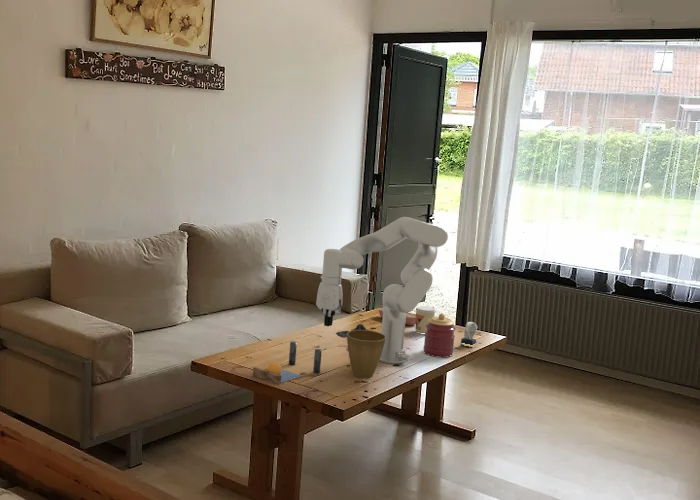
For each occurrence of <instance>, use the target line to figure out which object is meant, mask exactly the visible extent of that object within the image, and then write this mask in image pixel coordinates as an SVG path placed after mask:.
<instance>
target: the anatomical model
mask: <svg viewBox="0 0 700 500" xmlns="http://www.w3.org/2000/svg"><path fill="white" fill-rule="evenodd" d="M378 314H379V315H380V318H382V319H383V307H379V308H378ZM405 324H407V325H406V326H414V325H416V313H411V312H408V313H406V323H405Z"/></svg>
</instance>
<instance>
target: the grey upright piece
mask: <svg viewBox="0 0 700 500" xmlns="http://www.w3.org/2000/svg"><path fill="white" fill-rule="evenodd" d="M477 330H478V325H477V324H476V322H474V321H467V322H466V324H465V326H464V334H463V335H464V337H461V341H460V344H461V343H465V344H470V345H473V344H475V343H476V344H477V338H474V336H475V334H476V332H477Z"/></svg>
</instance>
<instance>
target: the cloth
mask: <svg viewBox="0 0 700 500" xmlns="http://www.w3.org/2000/svg"><path fill="white" fill-rule="evenodd" d="M353 330H367V328H366V327H365V326H364V324H363V323H359V324H357V325H356V327H355V328H353V329H351V330H350V331H353ZM348 332H349V330H342V331H336V333H335V334H336V335H338V336H339V337H340V338H344V339H345V338H347V333H348Z"/></svg>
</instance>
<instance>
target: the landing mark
mask: <svg viewBox="0 0 700 500" xmlns="http://www.w3.org/2000/svg"><path fill="white" fill-rule="evenodd" d="M280 376H281V384H282V382H283V383H286V382H288V380H289V381H292V380H291V378H292V379H293V380H295V379H294V377H295V378H296V379H298V377H299V378H302V377H301V376H302V375H301V374H298V373H294V372H292V371H288V370H287V369H286V370H285V369H283V368H282V372H281V374H280Z"/></svg>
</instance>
